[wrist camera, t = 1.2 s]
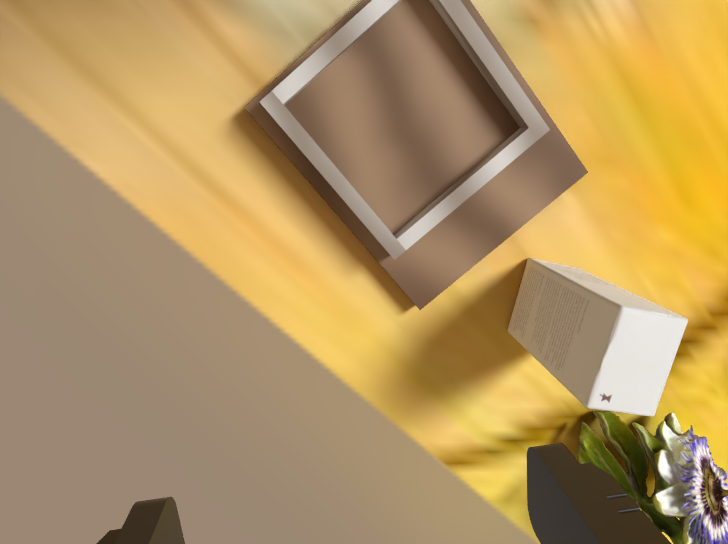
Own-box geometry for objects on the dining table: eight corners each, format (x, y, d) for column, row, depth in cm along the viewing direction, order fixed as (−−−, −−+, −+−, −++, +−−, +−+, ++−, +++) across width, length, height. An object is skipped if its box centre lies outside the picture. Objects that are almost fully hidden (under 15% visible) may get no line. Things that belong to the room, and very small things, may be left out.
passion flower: (631, 403, 49) (773, 501, 41) (556, 493, 48) (686, 610, 40) (621, 361, 40) (797, 474, 32) (530, 469, 40) (687, 612, 32)
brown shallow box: (424, -53, 33) (434, -69, 30) (579, 171, 37) (599, 173, 34) (246, 108, 34) (241, 106, 31) (416, 304, 38) (424, 317, 36)
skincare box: (556, 339, 40) (654, 421, 29) (505, 330, 40) (583, 411, 28) (580, 264, 39) (693, 319, 27) (527, 254, 38) (619, 305, 27)
